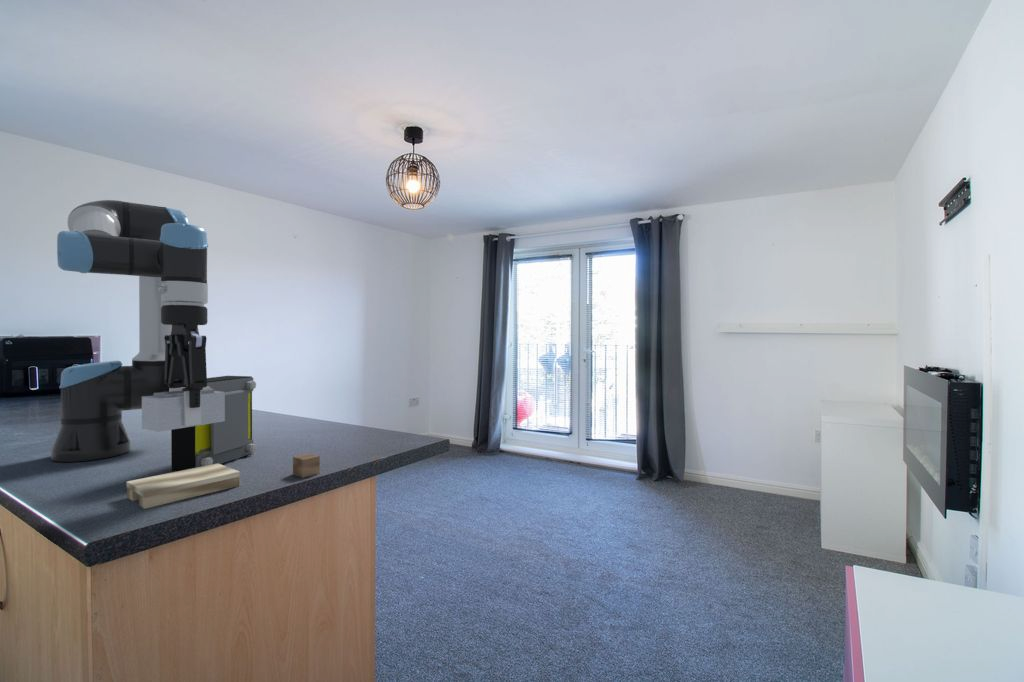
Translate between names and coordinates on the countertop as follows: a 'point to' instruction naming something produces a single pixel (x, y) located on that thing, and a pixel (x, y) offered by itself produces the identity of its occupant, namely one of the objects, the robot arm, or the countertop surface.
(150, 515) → the countertop surface
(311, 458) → the walnut block
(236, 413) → the electrical component
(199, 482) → the stand
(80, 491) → the countertop surface
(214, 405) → the block
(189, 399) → the robot arm
